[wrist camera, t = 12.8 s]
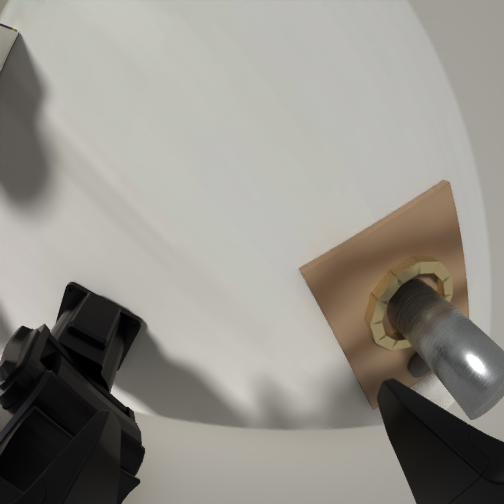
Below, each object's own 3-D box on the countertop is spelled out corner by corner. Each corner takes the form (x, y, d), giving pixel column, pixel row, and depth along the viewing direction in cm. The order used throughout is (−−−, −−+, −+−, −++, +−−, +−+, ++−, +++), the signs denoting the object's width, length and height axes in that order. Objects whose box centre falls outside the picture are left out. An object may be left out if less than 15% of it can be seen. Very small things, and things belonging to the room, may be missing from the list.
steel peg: (390, 332, 24) (464, 429, 13) (382, 294, 22) (474, 396, 11) (429, 308, 24) (511, 390, 13) (425, 269, 22) (524, 351, 11)
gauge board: (465, 340, 28) (473, 348, 27) (370, 404, 30) (376, 415, 28) (443, 180, 20) (457, 184, 19) (298, 268, 21) (305, 280, 20)
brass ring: (402, 351, 26) (408, 359, 24) (346, 322, 23) (351, 331, 22) (457, 282, 23) (464, 288, 22) (411, 236, 21) (420, 242, 20)
